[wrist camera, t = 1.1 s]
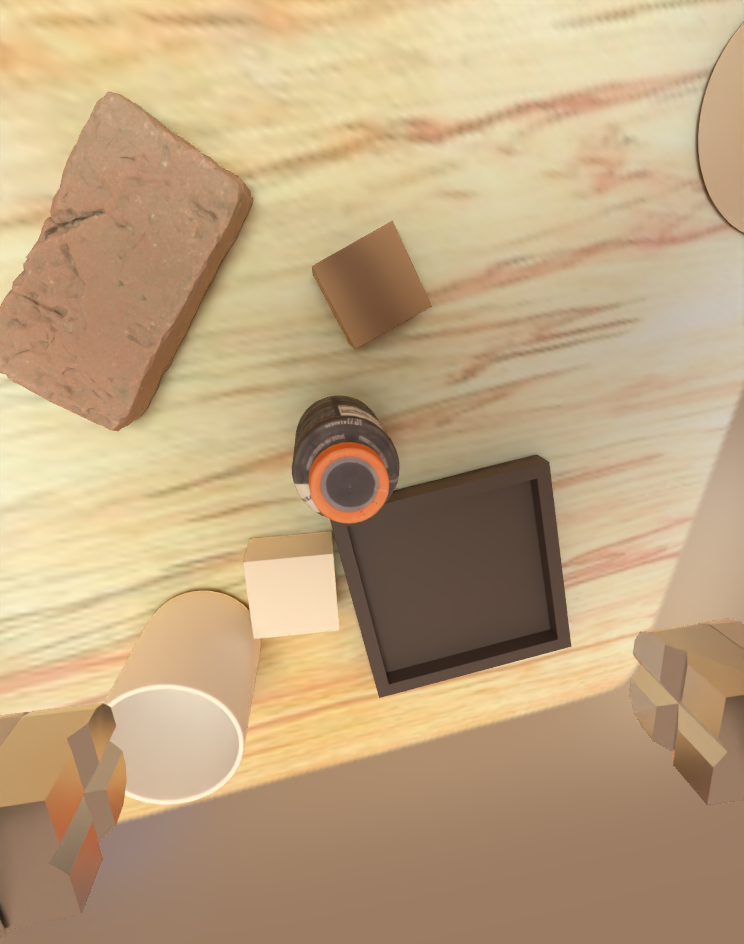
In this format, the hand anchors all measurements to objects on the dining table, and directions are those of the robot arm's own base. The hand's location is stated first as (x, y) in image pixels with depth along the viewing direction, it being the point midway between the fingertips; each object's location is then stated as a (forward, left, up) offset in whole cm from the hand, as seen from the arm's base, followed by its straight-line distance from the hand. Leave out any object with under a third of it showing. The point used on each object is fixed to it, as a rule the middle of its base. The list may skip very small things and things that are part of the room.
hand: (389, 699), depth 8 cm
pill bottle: (0, +2, -28) cm, 29 cm away
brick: (+10, -11, -29) cm, 32 cm away
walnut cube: (-4, -7, -28) cm, 29 cm away
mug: (+15, +16, -29) cm, 36 cm away
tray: (-6, +15, -28) cm, 33 cm away
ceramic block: (+6, +12, -29) cm, 31 cm away
